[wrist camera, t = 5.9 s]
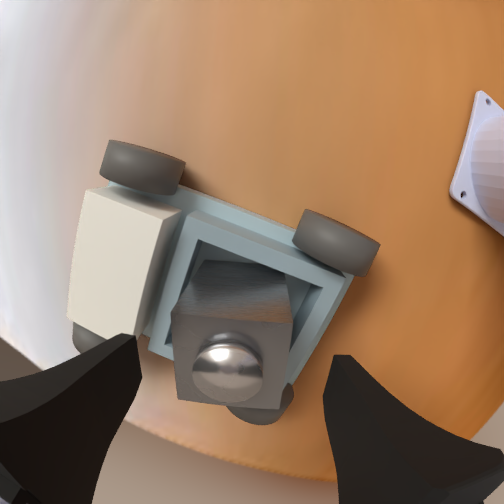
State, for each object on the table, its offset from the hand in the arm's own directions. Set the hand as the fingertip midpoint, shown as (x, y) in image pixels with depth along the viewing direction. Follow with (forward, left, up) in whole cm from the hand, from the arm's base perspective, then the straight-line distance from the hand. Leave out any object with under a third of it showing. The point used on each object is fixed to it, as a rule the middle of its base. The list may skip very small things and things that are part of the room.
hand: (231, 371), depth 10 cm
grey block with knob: (0, 0, -6) cm, 6 cm away
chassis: (+2, 0, -7) cm, 7 cm away
